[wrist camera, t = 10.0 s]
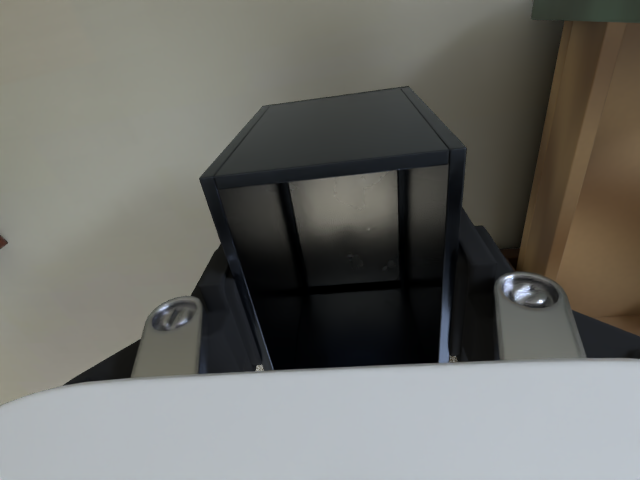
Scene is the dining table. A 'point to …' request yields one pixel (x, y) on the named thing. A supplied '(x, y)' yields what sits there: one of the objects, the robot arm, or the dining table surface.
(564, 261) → the drawer
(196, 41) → the dining table surface
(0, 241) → the food container
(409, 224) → the dark glass display case
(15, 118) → the dining table surface
